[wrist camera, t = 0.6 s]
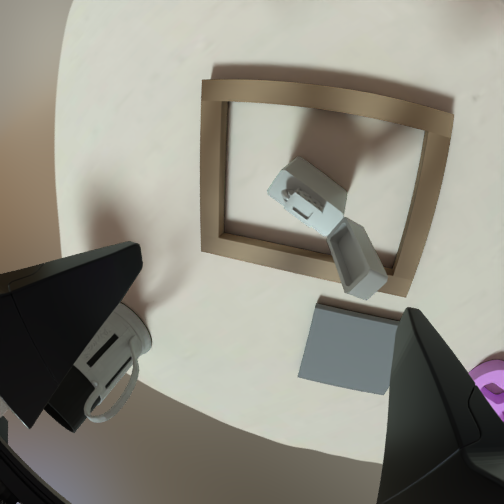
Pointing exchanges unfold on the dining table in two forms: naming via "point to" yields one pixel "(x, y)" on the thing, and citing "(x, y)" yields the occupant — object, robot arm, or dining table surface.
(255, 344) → the dining table surface
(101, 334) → the glass holder
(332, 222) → the lighter
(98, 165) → the dining table surface
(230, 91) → the frame
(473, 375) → the bracket
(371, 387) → the mat
